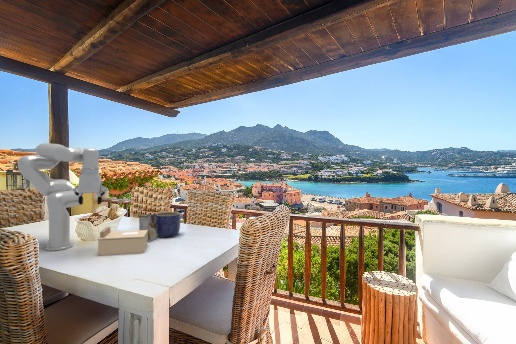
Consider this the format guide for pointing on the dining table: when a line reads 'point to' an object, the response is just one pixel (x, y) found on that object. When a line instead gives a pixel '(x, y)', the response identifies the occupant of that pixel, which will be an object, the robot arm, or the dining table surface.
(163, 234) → the planter
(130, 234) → the lid
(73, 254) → the dining table surface
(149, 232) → the coffee box
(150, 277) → the dining table surface
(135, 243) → the box
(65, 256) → the dining table surface
